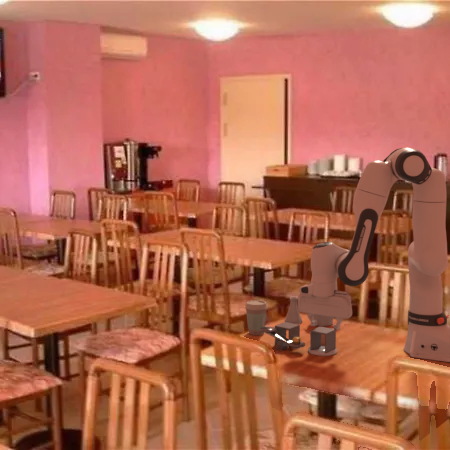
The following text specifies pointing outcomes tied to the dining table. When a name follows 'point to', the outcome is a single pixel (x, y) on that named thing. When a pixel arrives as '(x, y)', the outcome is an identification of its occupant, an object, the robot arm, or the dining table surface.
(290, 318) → the flask
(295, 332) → the hood
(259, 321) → the coffee cup
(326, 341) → the hood
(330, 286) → the robot arm
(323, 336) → the block
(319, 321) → the mug
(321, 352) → the saucer
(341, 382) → the dining table surface
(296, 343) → the balance
